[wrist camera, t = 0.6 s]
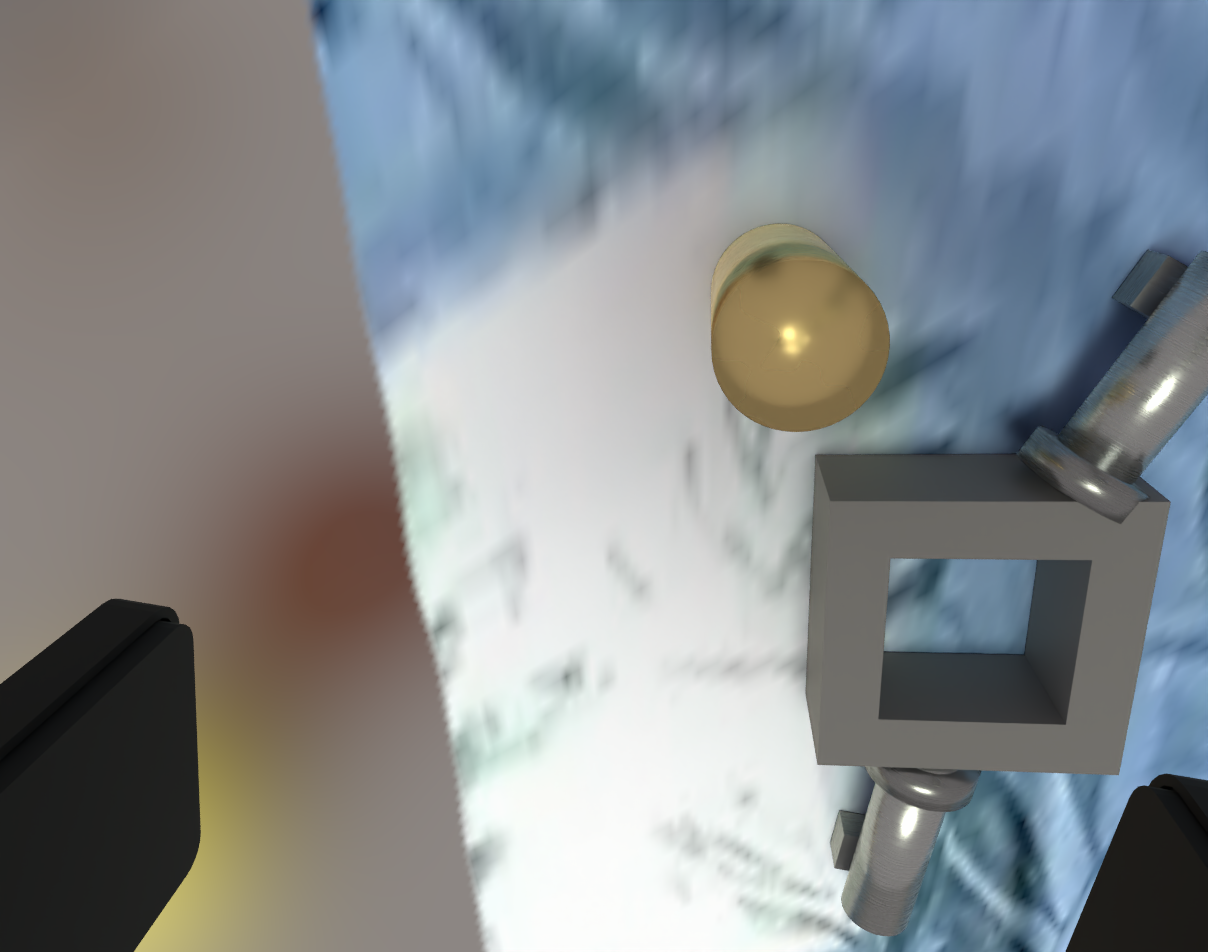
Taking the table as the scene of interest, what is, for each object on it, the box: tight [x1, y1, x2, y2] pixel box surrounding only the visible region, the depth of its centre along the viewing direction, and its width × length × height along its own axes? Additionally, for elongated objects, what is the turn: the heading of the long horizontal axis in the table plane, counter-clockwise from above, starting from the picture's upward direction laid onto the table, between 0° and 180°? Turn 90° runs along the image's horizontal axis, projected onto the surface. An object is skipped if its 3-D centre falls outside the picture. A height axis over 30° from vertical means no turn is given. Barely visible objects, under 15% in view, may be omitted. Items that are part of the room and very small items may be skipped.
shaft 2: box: [1017, 250, 1208, 524], centre depth 26 cm, size 7×4×4 cm, turn 152°
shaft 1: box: [830, 766, 981, 936], centre depth 32 cm, size 7×4×4 cm, turn 172°
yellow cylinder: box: [711, 224, 890, 432], centre depth 25 cm, size 4×4×8 cm
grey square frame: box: [806, 454, 1170, 775], centre depth 29 cm, size 9×9×4 cm
